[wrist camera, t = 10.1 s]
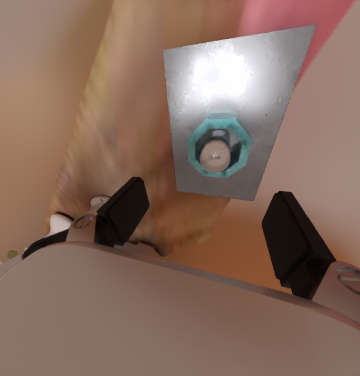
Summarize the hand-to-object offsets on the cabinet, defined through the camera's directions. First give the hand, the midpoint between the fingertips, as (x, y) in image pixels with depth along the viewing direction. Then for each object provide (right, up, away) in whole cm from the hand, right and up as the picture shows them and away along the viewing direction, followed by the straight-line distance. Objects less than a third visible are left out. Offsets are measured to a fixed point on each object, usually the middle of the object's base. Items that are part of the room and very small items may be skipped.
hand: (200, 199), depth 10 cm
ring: (+4, +7, +9) cm, 12 cm away
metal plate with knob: (+4, +8, +10) cm, 13 cm away
